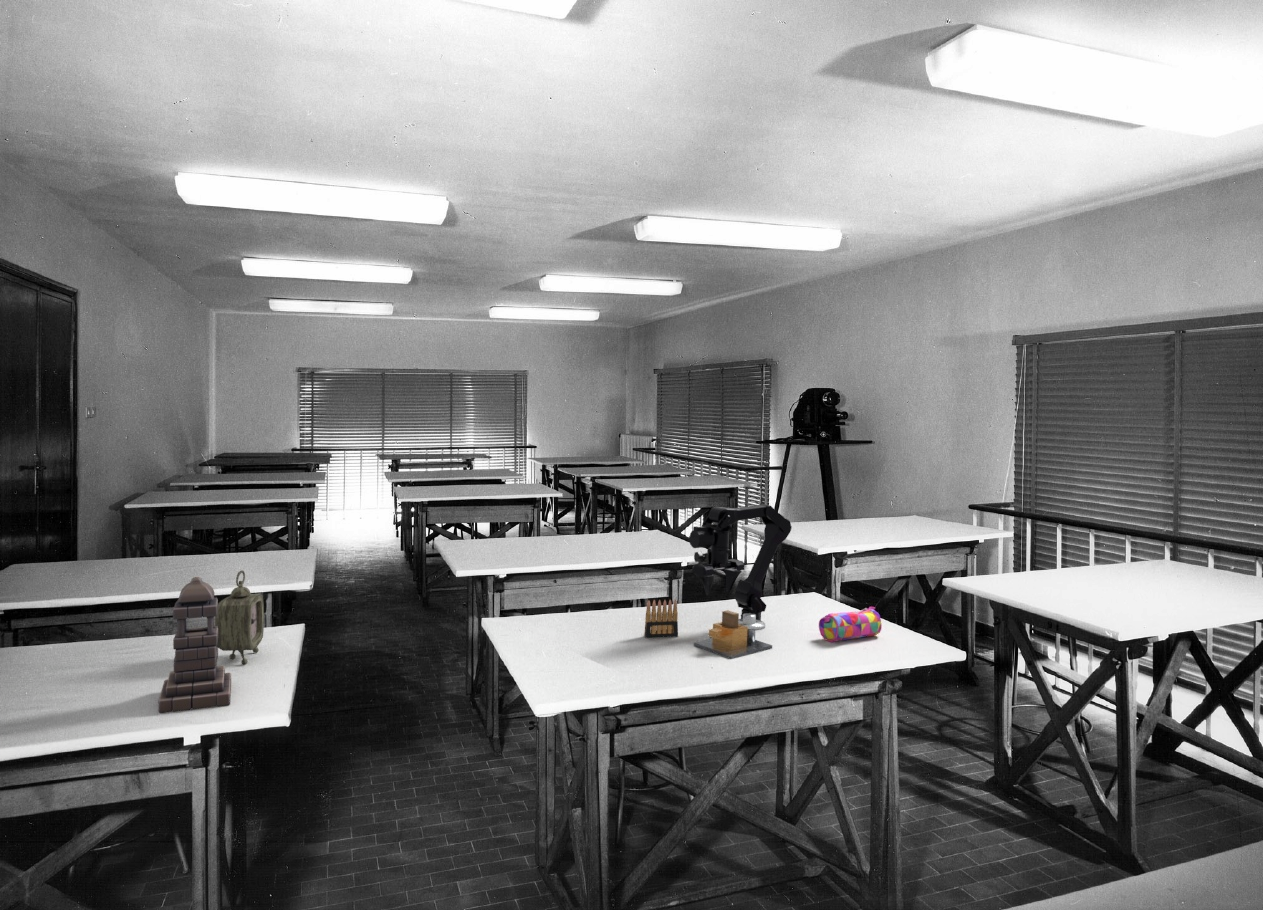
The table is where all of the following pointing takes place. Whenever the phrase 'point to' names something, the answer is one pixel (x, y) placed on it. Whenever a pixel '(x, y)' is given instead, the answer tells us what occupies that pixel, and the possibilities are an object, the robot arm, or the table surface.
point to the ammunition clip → (661, 620)
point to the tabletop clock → (240, 621)
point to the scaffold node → (735, 638)
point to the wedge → (730, 619)
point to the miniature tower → (195, 655)
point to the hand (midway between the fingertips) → (718, 593)
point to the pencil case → (850, 625)
